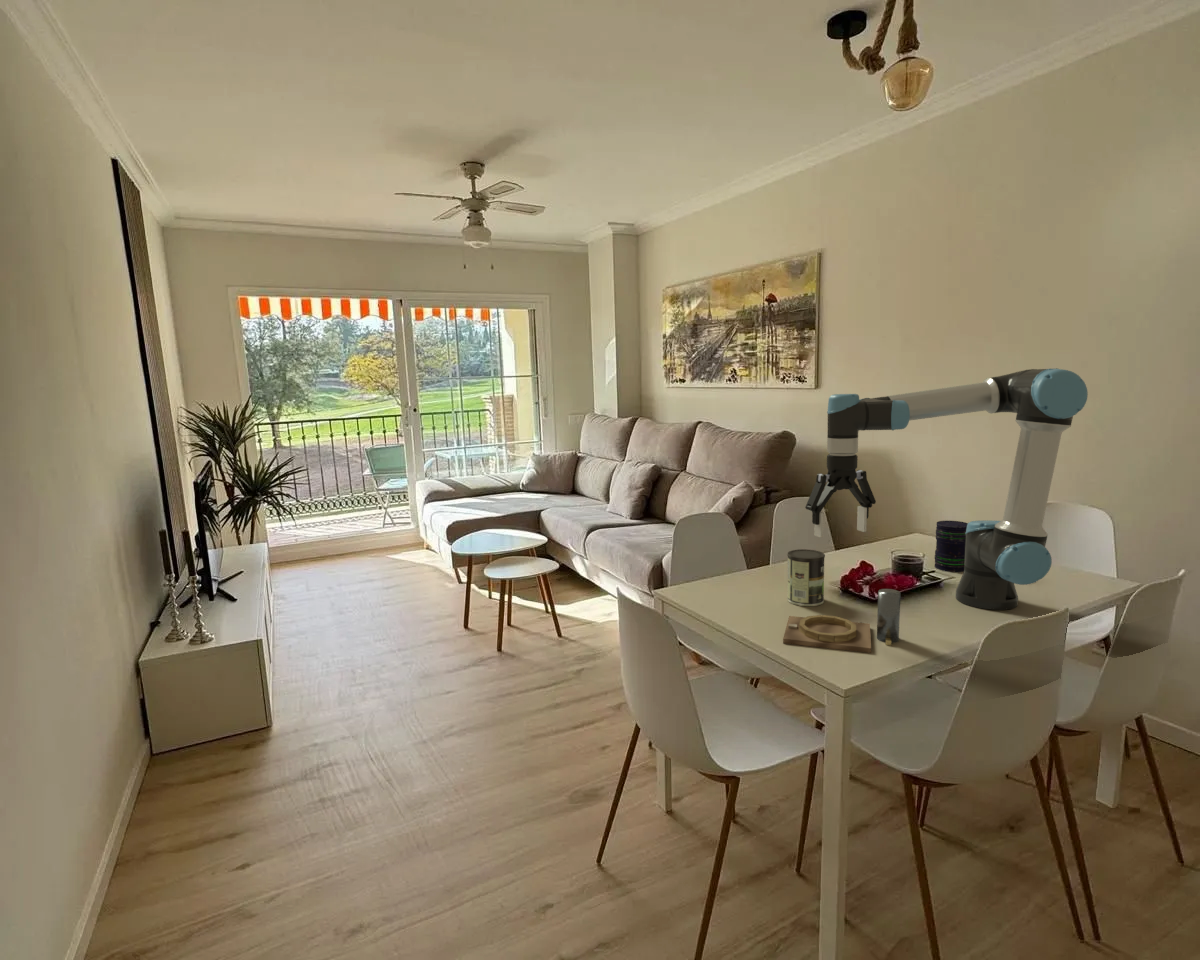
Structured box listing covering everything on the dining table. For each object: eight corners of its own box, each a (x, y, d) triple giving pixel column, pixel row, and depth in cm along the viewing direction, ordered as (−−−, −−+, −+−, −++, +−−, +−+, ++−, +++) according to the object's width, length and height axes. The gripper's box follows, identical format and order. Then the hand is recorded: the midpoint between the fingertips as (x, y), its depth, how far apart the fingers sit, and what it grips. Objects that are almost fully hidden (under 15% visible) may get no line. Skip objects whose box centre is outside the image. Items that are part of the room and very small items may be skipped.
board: (869, 628, 168) (869, 617, 168) (871, 653, 153) (871, 641, 153) (789, 620, 175) (789, 610, 175) (783, 643, 161) (783, 632, 160)
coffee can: (821, 595, 194) (822, 549, 192) (826, 607, 184) (827, 558, 182) (785, 594, 196) (786, 548, 194) (788, 606, 186) (788, 558, 184)
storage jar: (927, 564, 220) (929, 521, 218) (955, 562, 221) (957, 519, 219) (946, 573, 210) (948, 528, 208) (974, 571, 211) (977, 526, 209)
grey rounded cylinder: (897, 633, 164) (899, 587, 162) (899, 646, 156) (901, 598, 155) (876, 631, 166) (877, 586, 164) (877, 644, 158) (878, 596, 156)
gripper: (871, 449, 177) (869, 525, 180) (792, 455, 169) (791, 535, 172) (891, 451, 170) (889, 531, 173) (810, 458, 162) (808, 541, 165)
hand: (840, 533), depth 173 cm, fingers open, 13 cm apart
